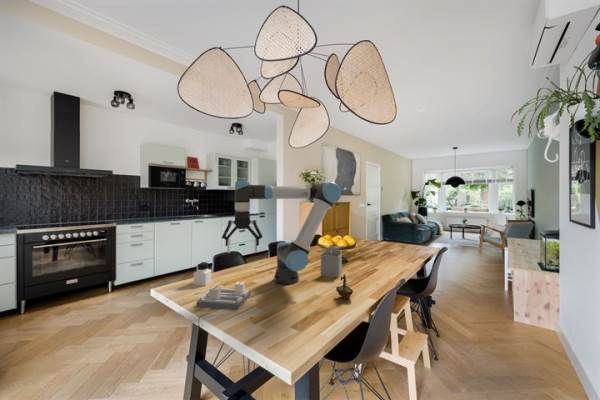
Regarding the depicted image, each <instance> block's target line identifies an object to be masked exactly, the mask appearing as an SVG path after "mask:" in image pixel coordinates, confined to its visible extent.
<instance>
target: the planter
mask: <svg viewBox="0 0 600 400" xmlns="http://www.w3.org/2000/svg"><path fill="white" fill-rule="evenodd" d="M342 265H343V252H342V251H340V249H338V248H337V247H336V246H334V245H332V244H331V245H329V247H327V248H326V249H325V250H324V251H323V252H322V253H321V254H320V277H325V276H326V278H327V277H328V278H335V277H337V279H338V278H339V277H341V275H342V273H343V271H342V270H343V269H342V268H343V267H342Z"/></svg>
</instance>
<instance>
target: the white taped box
mask: <svg viewBox="0 0 600 400" xmlns="http://www.w3.org/2000/svg"><path fill="white" fill-rule="evenodd" d="M234 289H235V294H242V295H243V293H244V292H245V290H246V281H236V283H235V284H234Z"/></svg>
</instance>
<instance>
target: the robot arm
mask: <svg viewBox="0 0 600 400" xmlns="http://www.w3.org/2000/svg"><path fill="white" fill-rule="evenodd" d="M341 197H342V190H341V188H340V186H339V184H337V183H336V182H334V181H327V182H320V183H315V184H306V185H305V186H295V185H293V186H284V185H283V186H282V185H281V186H280V185H279V186H278V185H277V186H275V185H271V184H251V181H249V180H236V181H235V182H234V211H235V212H234V220H231V219H229V220H228V221H227V226H226V228H225V229H224V232H223V234H222V236H221V239H224V240H225V247H227V254H230V253H231V239H230V238H231V236H232V235H233V234H234V233H235V232H236V231H237V230H247V231H249V232H250V233H251V235H252V236H253V237H254V254H255V253H256V254H257V252H258V247H259V245H260V239H262V238H263V234H262V232H261V229H259V226H258V224H257V220H256V219H253V220H251V211H250V209H251V200H274V199H275V200H281V199H283V200H284V199H285V200H287V199H289V200H293V199H294V200H299V199H300V200H303V199H304V200H305V201H313V205H312V207H311V209H310V210H309V213H308V214H307V216H306V219H305V220H304V222H303V224H302V226H301V229H300V230H299V233H298V235H297V236H296V238H295V240H292V241H288V242H287V241H285V242H283V241H282V242H278V243H277V245H276V246H277V247H276V270H275V273H274V275H273V281H274V283H276V284H279V285H280V284H281V285H292V284H296V283H298V282H299V281H300V276H299V272H300V271H302V270H304V269H306V267H307V265H308V263H309V254H310V252H311V251H310V250H311V249H310V246H311V244H312V242H313V240H314V238H315V236H316V234H317V232H318V230H319V227H320V226H321V223H322V222H323V220H324V217H325V216H326V214H327V212H328V210H331V209H332V207H333V205H334V204H335V203H337V202H339V201H340V199H341ZM233 224H234V225H235V226H234V227H233V229H232V230H230V229H231V226H232V225H233ZM250 225H253V227H254V229H255V230H254V229H253V228H252V226H250ZM229 231H230V232H229ZM255 231H256V232H255ZM228 232H229V233H228Z"/></svg>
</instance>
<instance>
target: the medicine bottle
mask: <svg viewBox="0 0 600 400" xmlns="http://www.w3.org/2000/svg"><path fill="white" fill-rule="evenodd" d="M211 282H212V269H209V263H208V262H207V261H201V262H198V263H196V271H194V272H193V286H199V287H200V286H203V287H204V286H205V287H206V286H207V285H208V284H210V283H211Z"/></svg>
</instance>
